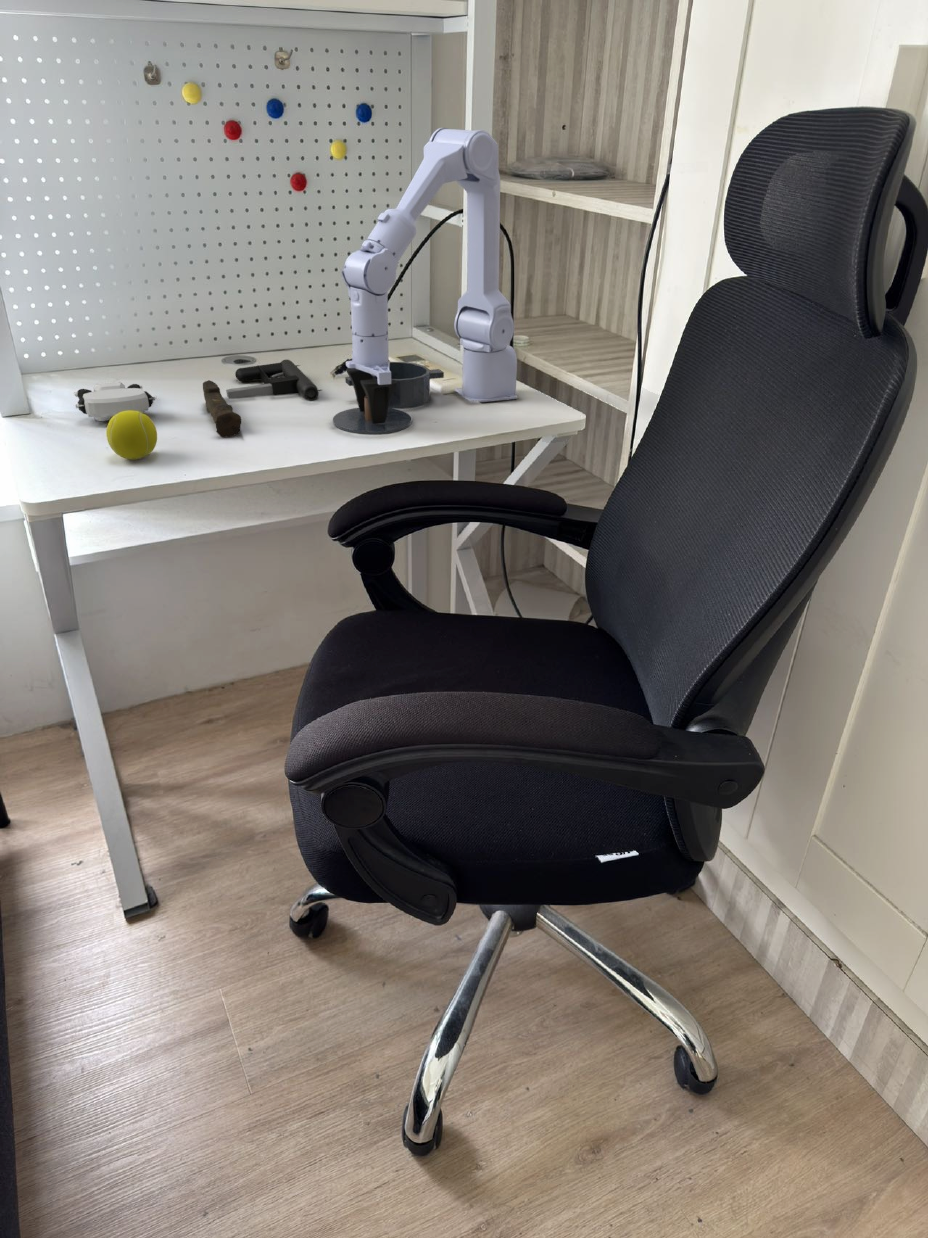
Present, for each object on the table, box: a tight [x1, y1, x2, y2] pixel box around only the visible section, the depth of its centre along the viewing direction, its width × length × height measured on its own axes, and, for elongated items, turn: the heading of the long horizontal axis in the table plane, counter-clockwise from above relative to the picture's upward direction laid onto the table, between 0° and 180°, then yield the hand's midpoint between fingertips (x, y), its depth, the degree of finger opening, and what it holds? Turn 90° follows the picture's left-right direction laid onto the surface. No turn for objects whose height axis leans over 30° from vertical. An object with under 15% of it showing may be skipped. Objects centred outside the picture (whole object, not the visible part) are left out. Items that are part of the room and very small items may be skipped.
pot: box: [344, 361, 445, 410], centre depth 162 cm, size 12×18×6 cm
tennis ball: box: [106, 410, 158, 460], centre depth 134 cm, size 7×7×7 cm
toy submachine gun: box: [225, 359, 322, 402], centre depth 167 cm, size 3×20×16 cm
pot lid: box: [332, 396, 413, 435], centre depth 151 cm, size 13×13×5 cm
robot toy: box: [73, 381, 158, 422], centre depth 153 cm, size 12×4×15 cm
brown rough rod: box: [202, 379, 242, 438], centre depth 151 cm, size 19×4×5 cm, turn 21°
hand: (372, 416), depth 151 cm, fingers open, 6 cm apart
